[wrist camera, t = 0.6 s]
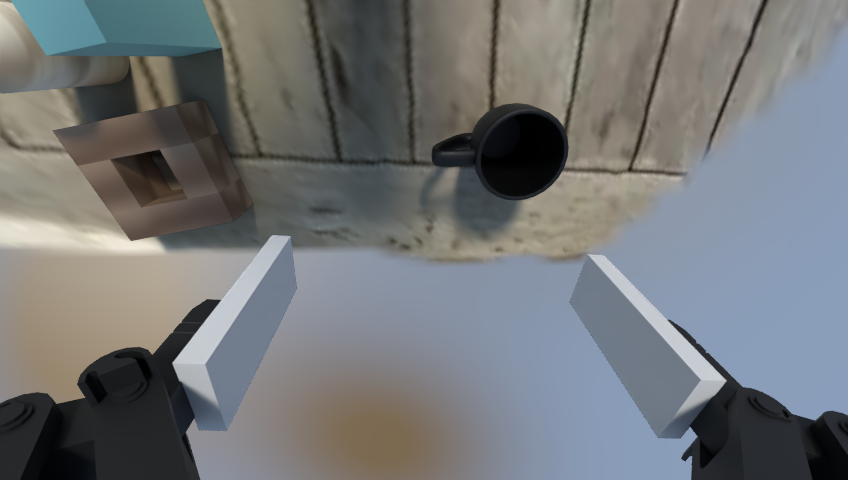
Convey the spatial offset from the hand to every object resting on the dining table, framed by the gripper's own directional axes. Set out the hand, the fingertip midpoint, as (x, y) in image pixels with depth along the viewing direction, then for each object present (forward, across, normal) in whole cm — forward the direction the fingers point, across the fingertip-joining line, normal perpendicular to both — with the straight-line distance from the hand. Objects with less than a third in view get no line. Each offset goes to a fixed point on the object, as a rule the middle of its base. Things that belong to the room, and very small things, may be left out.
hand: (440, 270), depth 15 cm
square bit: (+26, -23, +9) cm, 36 cm away
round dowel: (+26, -32, +6) cm, 42 cm away
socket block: (+26, -27, -5) cm, 38 cm away
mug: (+26, +7, +1) cm, 27 cm away
